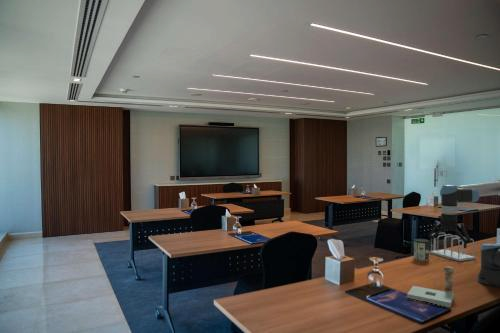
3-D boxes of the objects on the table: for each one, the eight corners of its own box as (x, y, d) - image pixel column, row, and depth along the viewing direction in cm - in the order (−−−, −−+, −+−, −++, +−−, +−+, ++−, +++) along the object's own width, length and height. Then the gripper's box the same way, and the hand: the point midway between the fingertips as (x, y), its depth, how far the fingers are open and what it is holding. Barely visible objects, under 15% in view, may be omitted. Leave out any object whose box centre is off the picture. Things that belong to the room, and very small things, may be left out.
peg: (453, 293, 195) (454, 267, 194) (452, 296, 191) (453, 269, 191) (444, 291, 197) (444, 265, 197) (443, 294, 194) (443, 267, 193)
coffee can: (425, 257, 267) (425, 238, 266) (431, 261, 256) (432, 241, 256) (411, 257, 267) (411, 238, 267) (417, 261, 256) (417, 241, 256)
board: (453, 298, 188) (453, 293, 188) (450, 307, 176) (450, 302, 176) (413, 290, 200) (413, 285, 200) (407, 298, 188) (407, 293, 188)
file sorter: (475, 259, 260) (475, 238, 260) (459, 262, 254) (459, 240, 254) (445, 251, 284) (445, 231, 283) (429, 253, 277) (429, 233, 277)
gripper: (476, 214, 189) (475, 254, 189) (425, 210, 204) (424, 247, 204) (475, 216, 183) (475, 257, 183) (422, 212, 198) (422, 250, 198)
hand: (448, 252), depth 194 cm, fingers open, 13 cm apart
